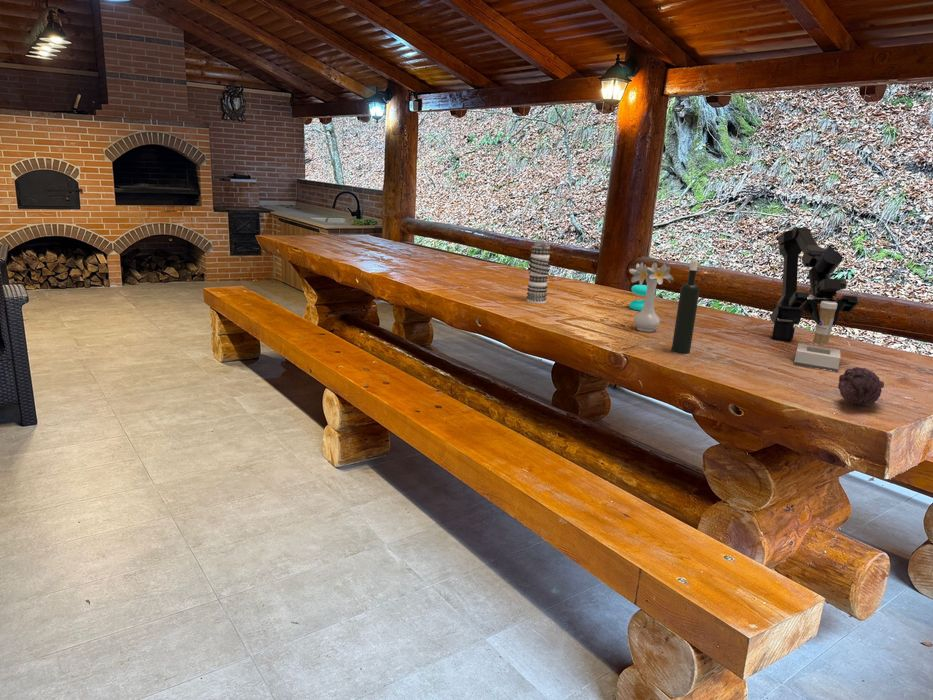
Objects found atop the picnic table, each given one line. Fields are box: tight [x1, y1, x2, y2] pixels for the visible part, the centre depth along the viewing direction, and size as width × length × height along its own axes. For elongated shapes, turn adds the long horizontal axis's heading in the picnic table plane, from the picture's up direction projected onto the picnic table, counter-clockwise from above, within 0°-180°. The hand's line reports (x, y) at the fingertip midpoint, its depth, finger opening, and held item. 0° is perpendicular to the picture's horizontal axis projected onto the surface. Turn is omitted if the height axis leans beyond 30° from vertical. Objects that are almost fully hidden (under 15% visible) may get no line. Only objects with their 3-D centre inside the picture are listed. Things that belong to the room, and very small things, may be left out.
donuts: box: [628, 284, 657, 312], centre depth 274 cm, size 10×10×10 cm
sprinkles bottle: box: [812, 301, 837, 346], centre depth 200 cm, size 5×5×13 cm
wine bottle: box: [671, 258, 700, 355], centre depth 206 cm, size 6×6×30 cm
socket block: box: [793, 343, 841, 372], centre depth 203 cm, size 12×12×4 cm
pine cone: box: [837, 366, 885, 407], centre depth 165 cm, size 18×10×10 cm, turn 131°
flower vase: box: [628, 262, 675, 333], centre depth 234 cm, size 13×18×25 cm
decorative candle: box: [526, 242, 551, 305], centre depth 276 cm, size 9×9×25 cm
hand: (826, 324), depth 199 cm, fingers closed on sprinkles bottle, 4 cm apart
